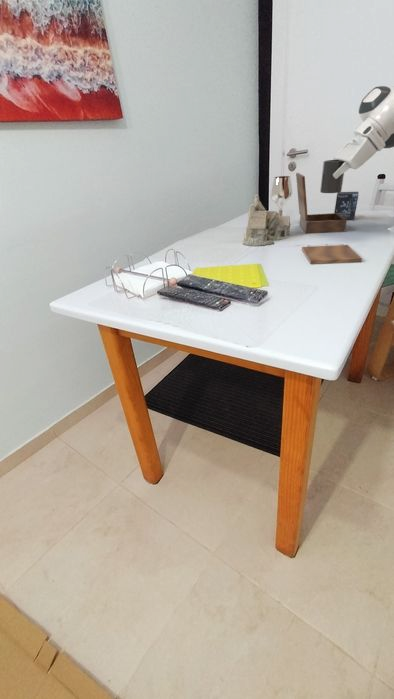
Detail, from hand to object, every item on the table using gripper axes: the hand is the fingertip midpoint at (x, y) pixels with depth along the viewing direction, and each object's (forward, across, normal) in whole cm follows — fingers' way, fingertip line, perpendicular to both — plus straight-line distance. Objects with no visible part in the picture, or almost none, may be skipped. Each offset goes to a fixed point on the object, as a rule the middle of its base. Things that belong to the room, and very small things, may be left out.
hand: (330, 175), depth 108 cm
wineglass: (+23, -19, +5) cm, 30 cm away
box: (+5, -23, +23) cm, 33 cm away
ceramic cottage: (+28, 0, 0) cm, 28 cm away
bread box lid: (+10, -9, 0) cm, 13 cm away
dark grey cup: (+3, 0, +4) cm, 5 cm away
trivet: (+16, +21, +12) cm, 29 cm away
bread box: (+13, -9, +14) cm, 21 cm away
